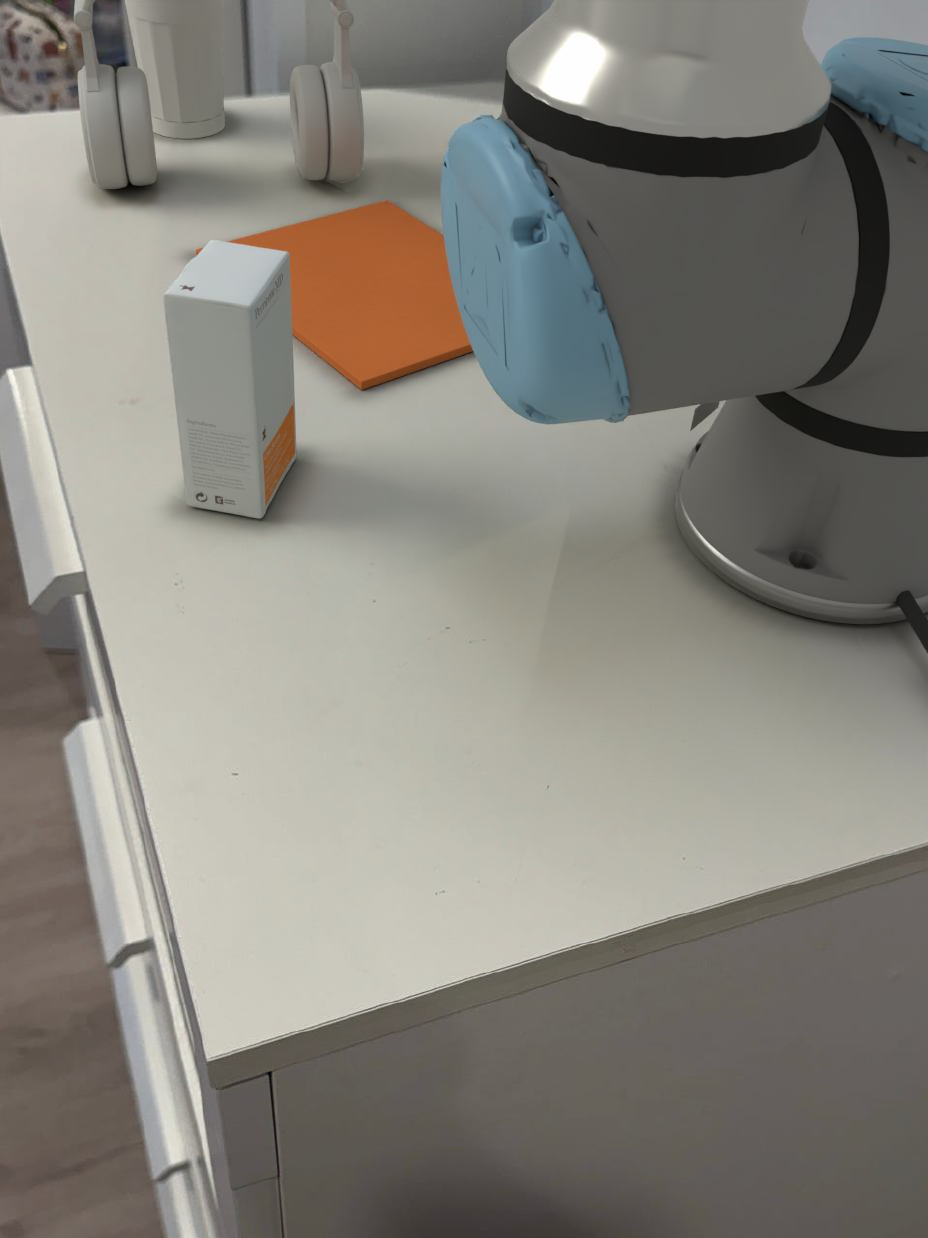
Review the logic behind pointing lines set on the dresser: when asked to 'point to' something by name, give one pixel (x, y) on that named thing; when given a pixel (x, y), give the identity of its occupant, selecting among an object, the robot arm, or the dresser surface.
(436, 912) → the dresser surface
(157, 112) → the cup
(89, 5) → the headphones
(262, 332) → the cosmetic box
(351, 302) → the orange rectangular board
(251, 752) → the dresser surface
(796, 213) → the robot arm
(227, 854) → the dresser surface
